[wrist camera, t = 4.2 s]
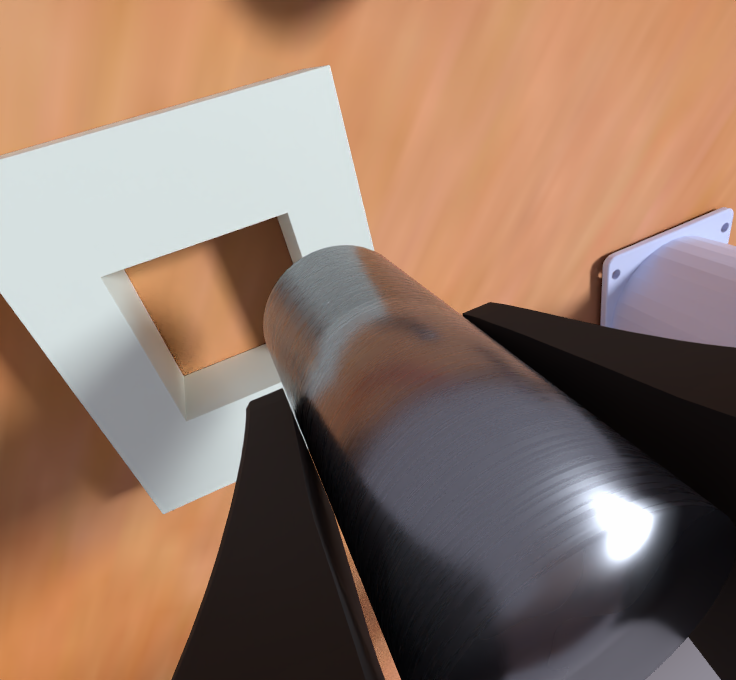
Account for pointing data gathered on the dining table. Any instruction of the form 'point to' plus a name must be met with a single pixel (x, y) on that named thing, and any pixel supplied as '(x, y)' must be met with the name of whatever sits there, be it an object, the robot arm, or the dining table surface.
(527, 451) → the pin long
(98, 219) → the board
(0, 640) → the dining table surface
